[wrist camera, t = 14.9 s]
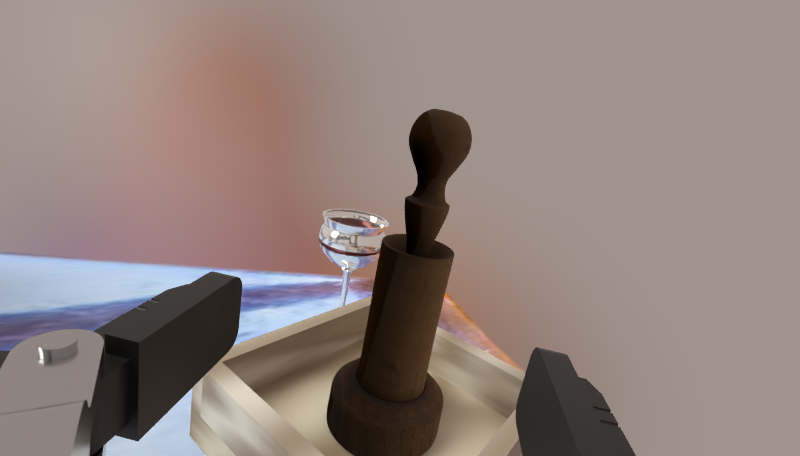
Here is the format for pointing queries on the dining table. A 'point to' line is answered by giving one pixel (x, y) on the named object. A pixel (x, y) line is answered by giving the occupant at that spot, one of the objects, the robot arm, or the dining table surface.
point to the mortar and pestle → (404, 312)
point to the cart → (311, 383)
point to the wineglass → (351, 240)
